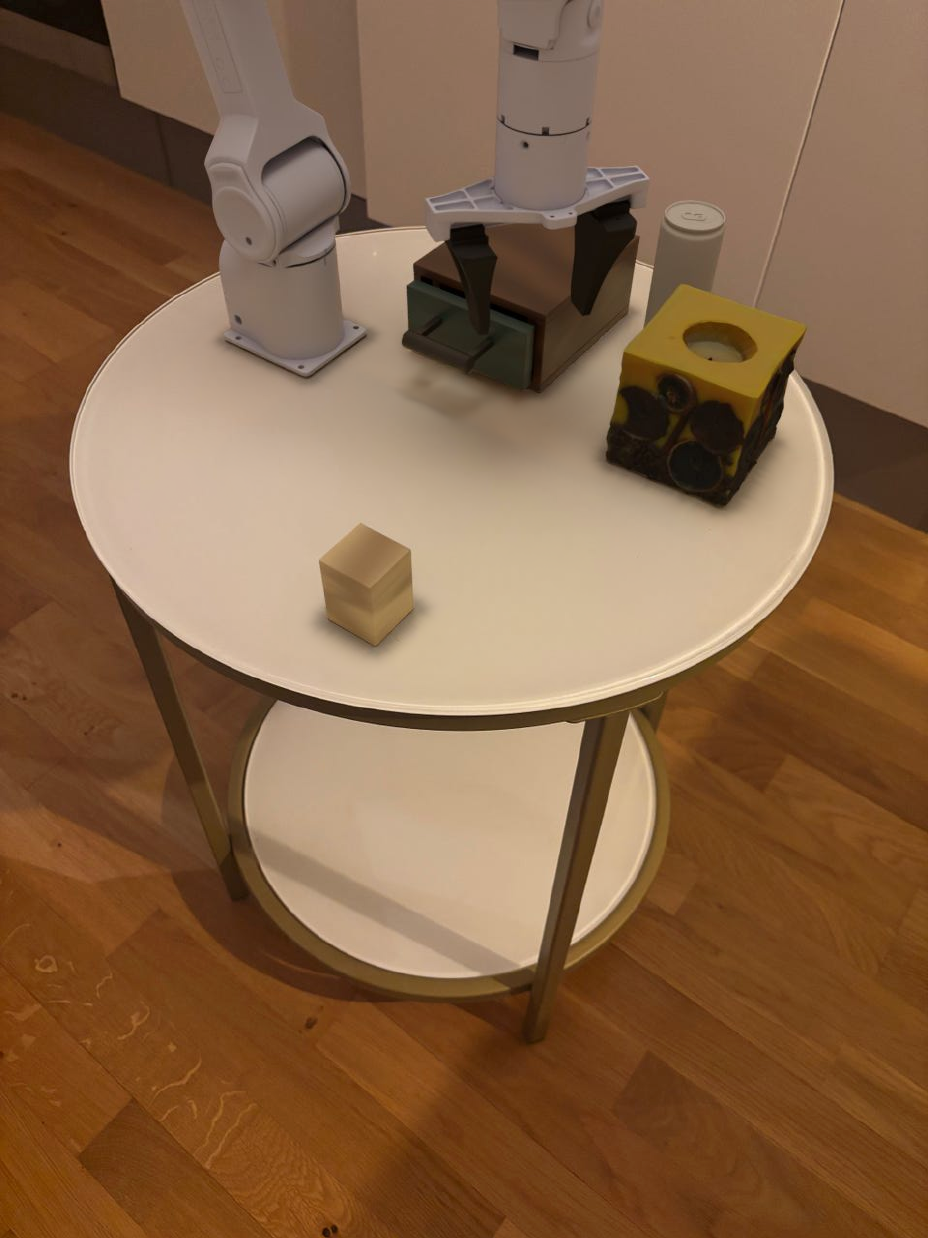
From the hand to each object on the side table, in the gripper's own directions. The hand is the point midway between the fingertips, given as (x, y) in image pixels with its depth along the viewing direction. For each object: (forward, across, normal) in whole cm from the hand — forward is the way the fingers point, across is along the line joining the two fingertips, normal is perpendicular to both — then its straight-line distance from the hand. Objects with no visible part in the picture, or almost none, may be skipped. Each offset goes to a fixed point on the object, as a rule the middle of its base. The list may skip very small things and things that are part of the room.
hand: (530, 317), depth 68 cm
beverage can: (+10, +15, +6) cm, 19 cm away
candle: (+10, +11, -6) cm, 16 cm away
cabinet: (+10, +5, +13) cm, 17 cm away
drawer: (+9, +2, +11) cm, 14 cm away
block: (+10, -16, -15) cm, 24 cm away
